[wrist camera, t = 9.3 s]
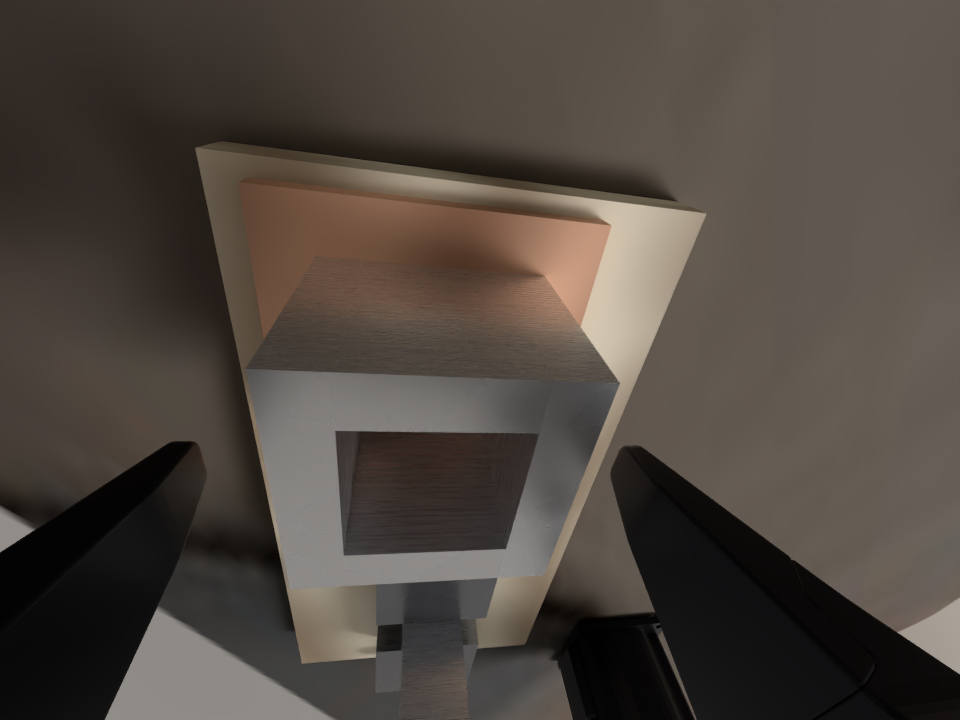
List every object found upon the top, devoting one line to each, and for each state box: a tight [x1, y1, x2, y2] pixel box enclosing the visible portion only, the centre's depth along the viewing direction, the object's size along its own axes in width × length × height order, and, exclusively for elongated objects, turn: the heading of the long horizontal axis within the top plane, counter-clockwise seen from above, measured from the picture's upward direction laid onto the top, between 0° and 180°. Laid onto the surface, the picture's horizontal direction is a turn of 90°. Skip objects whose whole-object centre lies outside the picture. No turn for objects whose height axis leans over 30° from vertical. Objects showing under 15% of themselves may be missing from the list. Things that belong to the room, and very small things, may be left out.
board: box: [195, 141, 707, 664], centre depth 18 cm, size 13×26×2 cm, turn 172°
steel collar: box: [246, 256, 620, 589], centre depth 10 cm, size 6×6×5 cm
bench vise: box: [376, 578, 498, 720], centre depth 18 cm, size 5×14×7 cm, turn 172°
